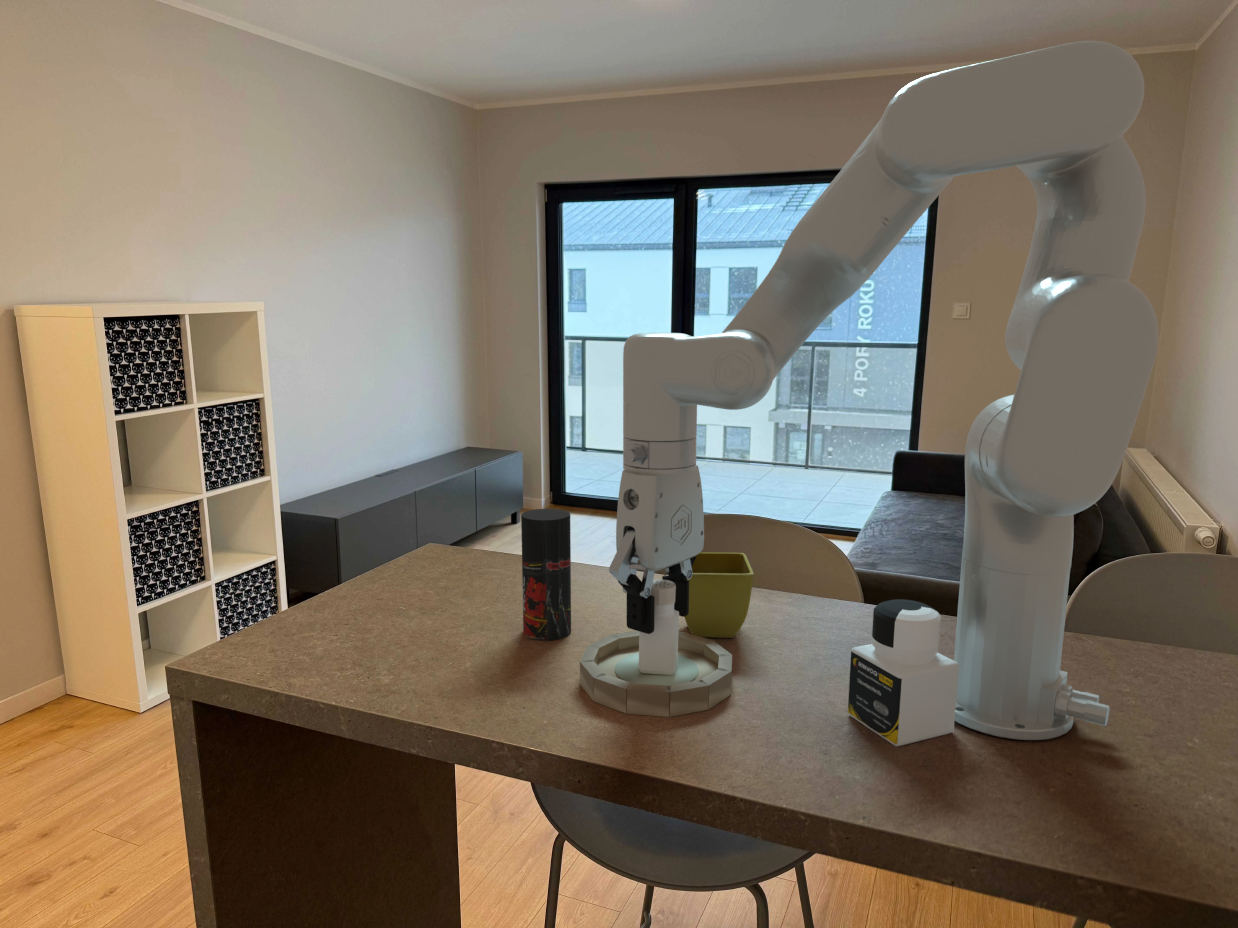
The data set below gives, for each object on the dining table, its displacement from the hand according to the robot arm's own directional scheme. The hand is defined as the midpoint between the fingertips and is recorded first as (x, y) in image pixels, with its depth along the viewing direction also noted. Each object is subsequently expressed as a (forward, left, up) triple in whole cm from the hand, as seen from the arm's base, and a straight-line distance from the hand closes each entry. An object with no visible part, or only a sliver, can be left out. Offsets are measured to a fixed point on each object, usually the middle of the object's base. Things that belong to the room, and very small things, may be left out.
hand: (658, 619), depth 89 cm
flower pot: (+3, -16, -7) cm, 18 cm away
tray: (0, 0, -7) cm, 7 cm away
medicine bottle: (-24, -7, -7) cm, 26 cm away
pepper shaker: (0, 0, -6) cm, 6 cm away
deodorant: (+19, -3, -7) cm, 21 cm away
